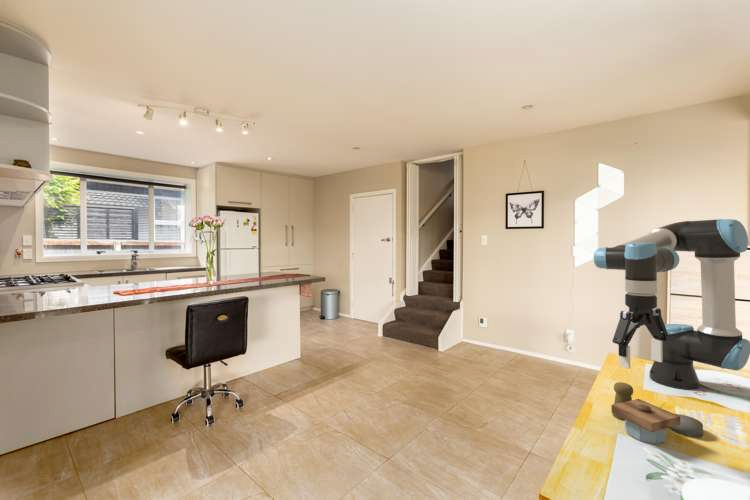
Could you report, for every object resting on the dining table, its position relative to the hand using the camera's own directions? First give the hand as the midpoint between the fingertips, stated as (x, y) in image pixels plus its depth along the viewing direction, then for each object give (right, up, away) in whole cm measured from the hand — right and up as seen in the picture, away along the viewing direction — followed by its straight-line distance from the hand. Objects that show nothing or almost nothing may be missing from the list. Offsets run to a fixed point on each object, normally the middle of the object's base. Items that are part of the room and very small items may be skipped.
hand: (641, 364), depth 103 cm
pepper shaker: (+1, -21, +9) cm, 23 cm away
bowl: (0, -21, -2) cm, 21 cm away
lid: (0, -16, -2) cm, 16 cm away
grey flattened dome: (+14, -20, +1) cm, 25 cm away
